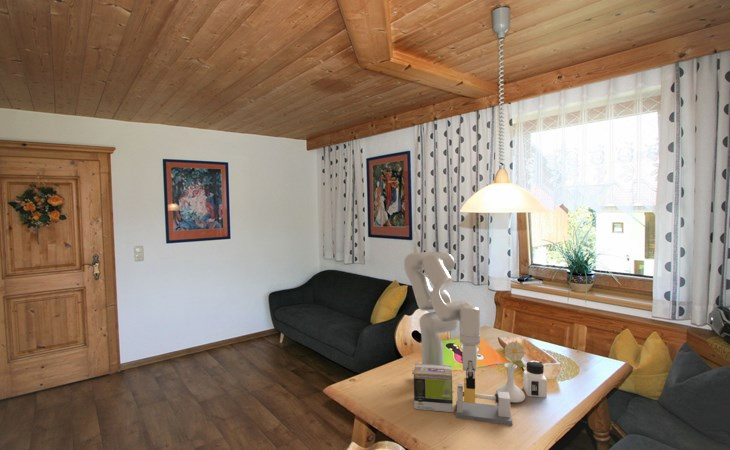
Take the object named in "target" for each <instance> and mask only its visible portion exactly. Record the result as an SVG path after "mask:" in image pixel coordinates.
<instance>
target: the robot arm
mask: <svg viewBox="0 0 730 450" xmlns="http://www.w3.org/2000/svg"><path fill="white" fill-rule="evenodd" d="M403 262H404V263H403V265H404V266H403V267H404V271H405V274H406V276H407V278H408V280H409V282H410V284H411V286H412V291H413V295H414V297H415V301H416V304H417V307H418V308H419V310H420V311H424V312H425V313H423V314H422V315H421V316H420V318H419V320H418V321H419V329H420V333H421V334H420V335H421V336H420V337H421V364H429V365H444V344H443V341H442V339H441V337H440V336H439V334H443V333H450V332H453V331H456V330H457V329H458V326H459V343H460V344H462V370H463V371H466V372H465V375H466V376H465V378H466V388H467V389H475V390H476V378H475V372H476V371H477V363H478V345H480V344H481V312H480V311H481V310H480V308H479V307H478V306H476V305H474V304H473V305H472V304H471V303H470V302H469V301H466V300H457V301H452V298H451V296H450V294H449V292H448V291H447V289H448V288H450V286H451V285H452V283H453V277H452V275H450V272H452V271H453V270H454V268H455V265H456V264H455V260H454V257H453V256H452V254H450V253H449V252H443V251H442V252H441V251H425V252H424V251H422V252H413V253H409V254H408V255H406V256H405V258H404V260H403ZM422 271H425V273H426V275H427V276H426V275H425V274H424V273H423V272H422ZM431 284H432V286H431ZM432 287H433V288H432ZM426 311H427V313H426ZM429 311H431V312H429ZM458 323H459V325H458ZM411 373H412V375H414V369H412V372H411Z"/></svg>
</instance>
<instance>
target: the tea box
mask: <svg viewBox="0 0 730 450" xmlns="http://www.w3.org/2000/svg"><path fill="white" fill-rule="evenodd" d="M413 370H414V374H413V406H414V409H415V410H424V411H436V412H447V413H453V412H454V411H453V410H454V409H453V401H454V400H453V372H452V365H444V364H443V365H429V364H422V363H415V365H414V369H413Z"/></svg>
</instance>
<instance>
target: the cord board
mask: <svg viewBox="0 0 730 450" xmlns="http://www.w3.org/2000/svg"><path fill="white" fill-rule="evenodd" d="M456 390H457V391H456V394H457V395H456V396H457V397H456V402H455V419H462V420H469V421H476V422H484V423H492V424H497V425H498V424H499V425H506V426H513V418H512V414H511V402H510V396H509V392H500V391H498V394H496V393H495V395H494V394H493V395H492V394H485V393H476V392H475V399H479V400H480V399H483V400H490V401H495V403H496V404H497V405H495V404H488V403H477V402H475V404H473V403H465V402H464V382H457V389H456Z"/></svg>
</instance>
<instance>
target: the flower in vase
mask: <svg viewBox="0 0 730 450" xmlns="http://www.w3.org/2000/svg"><path fill="white" fill-rule="evenodd" d="M525 350H526V349H525V346H524V345H523V344H522V343H520V342H518V341H516V340H515V341H511V342H508V343H507V344H506V345H505V347H504V354H505V355H504V358H505V359H506V360H507V361H508V363H507V362H505V363H504V365H503V366H504V367H505V369H506V372H507V373H506V374H507V380H506V382H505V383H504V384H502V385H500V386H499V387H498V388H497V389H496V390H495V394H498V391H500V392H509V396H510V403H521V402H523V401H524V400H525V399H526V393H524V392H525V391H523V390H522V389H521V388H519V387H518V386H517V385H516V384H515V381H514V375H515V371H516V369H517V368H518V367H519V368H526V366H525V364H524V362H523V360H522V359H523V358H524V357H525V354H526V352H525ZM515 363H516V364H515Z"/></svg>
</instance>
